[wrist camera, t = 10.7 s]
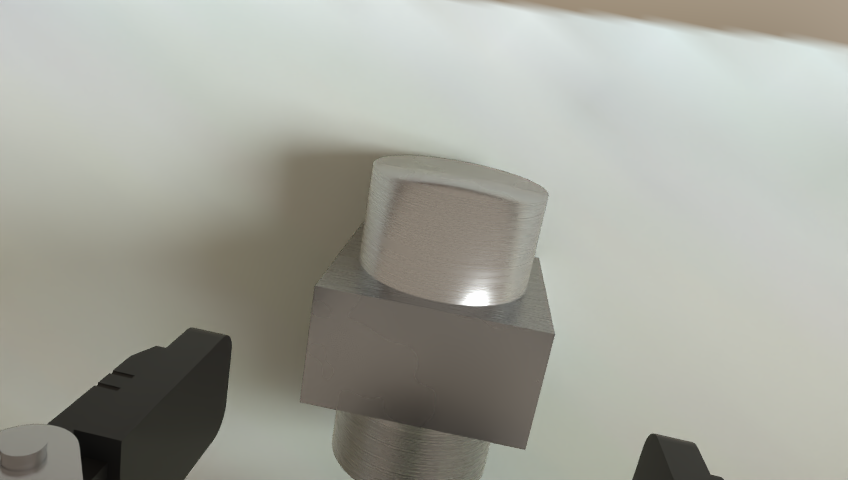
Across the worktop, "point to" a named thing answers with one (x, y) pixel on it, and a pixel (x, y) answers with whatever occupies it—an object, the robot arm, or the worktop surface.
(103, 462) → the robot arm
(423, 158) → the coupling
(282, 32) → the worktop surface
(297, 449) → the worktop surface
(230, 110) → the worktop surface
